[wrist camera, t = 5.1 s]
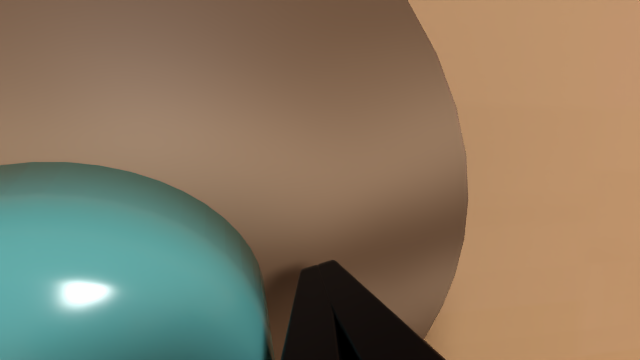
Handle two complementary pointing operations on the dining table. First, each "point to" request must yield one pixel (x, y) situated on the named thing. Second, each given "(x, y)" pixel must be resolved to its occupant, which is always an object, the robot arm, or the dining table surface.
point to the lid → (122, 270)
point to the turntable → (258, 128)
